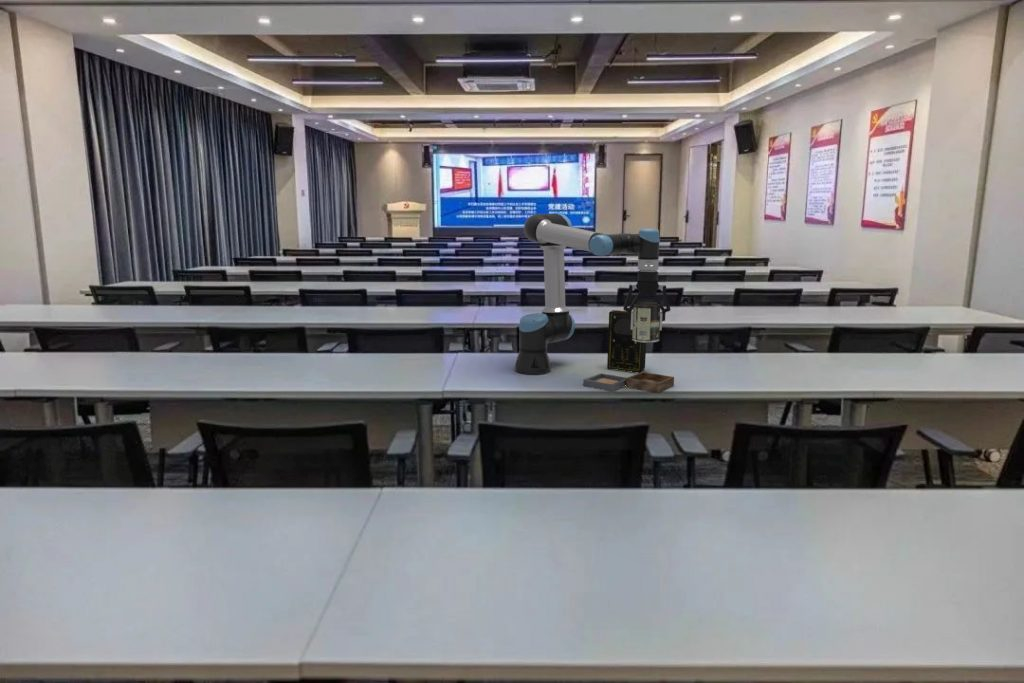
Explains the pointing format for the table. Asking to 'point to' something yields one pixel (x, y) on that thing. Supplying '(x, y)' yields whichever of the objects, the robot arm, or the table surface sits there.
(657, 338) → the coffee can
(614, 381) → the checker cradle
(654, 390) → the walnut tray
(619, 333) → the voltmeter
